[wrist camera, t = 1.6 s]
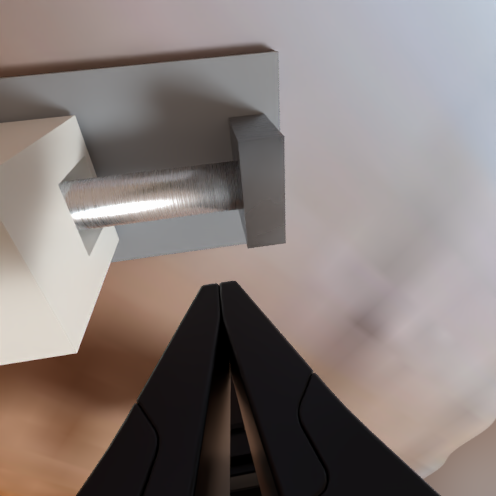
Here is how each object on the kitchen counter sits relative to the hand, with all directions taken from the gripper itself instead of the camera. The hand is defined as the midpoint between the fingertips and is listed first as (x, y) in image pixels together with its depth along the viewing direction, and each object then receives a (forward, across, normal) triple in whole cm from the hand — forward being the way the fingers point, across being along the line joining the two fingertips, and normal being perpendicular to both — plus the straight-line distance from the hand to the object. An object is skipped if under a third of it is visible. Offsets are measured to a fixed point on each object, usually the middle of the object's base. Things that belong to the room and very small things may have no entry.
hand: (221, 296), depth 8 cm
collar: (+10, +7, 0) cm, 12 cm away
